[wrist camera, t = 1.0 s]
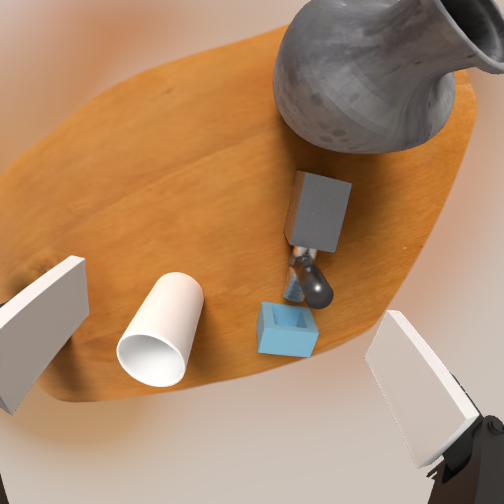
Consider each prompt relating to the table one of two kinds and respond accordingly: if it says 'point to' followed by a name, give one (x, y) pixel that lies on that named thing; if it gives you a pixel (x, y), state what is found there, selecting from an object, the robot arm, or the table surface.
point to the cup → (162, 331)
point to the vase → (381, 69)
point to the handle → (306, 280)
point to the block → (316, 211)
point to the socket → (286, 330)
